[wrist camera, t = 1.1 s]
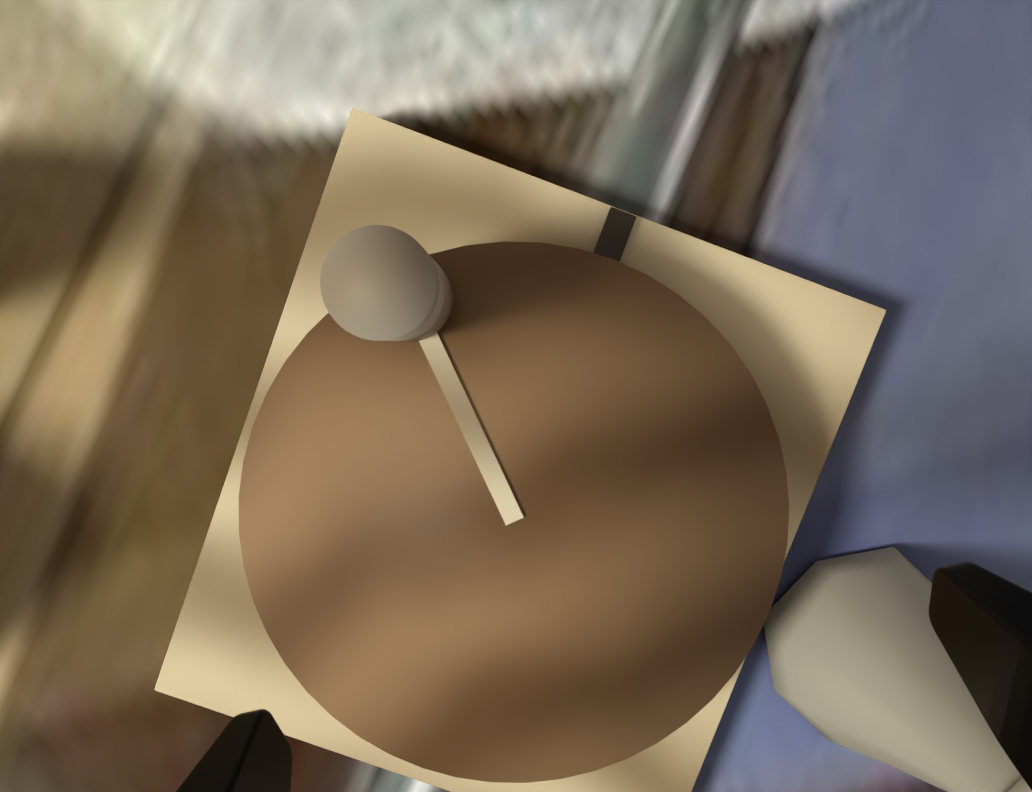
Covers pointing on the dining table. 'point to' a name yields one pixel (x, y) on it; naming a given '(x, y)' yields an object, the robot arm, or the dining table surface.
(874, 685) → the flask
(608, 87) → the dining table surface
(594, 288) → the knobbed disc on base
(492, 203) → the stand
